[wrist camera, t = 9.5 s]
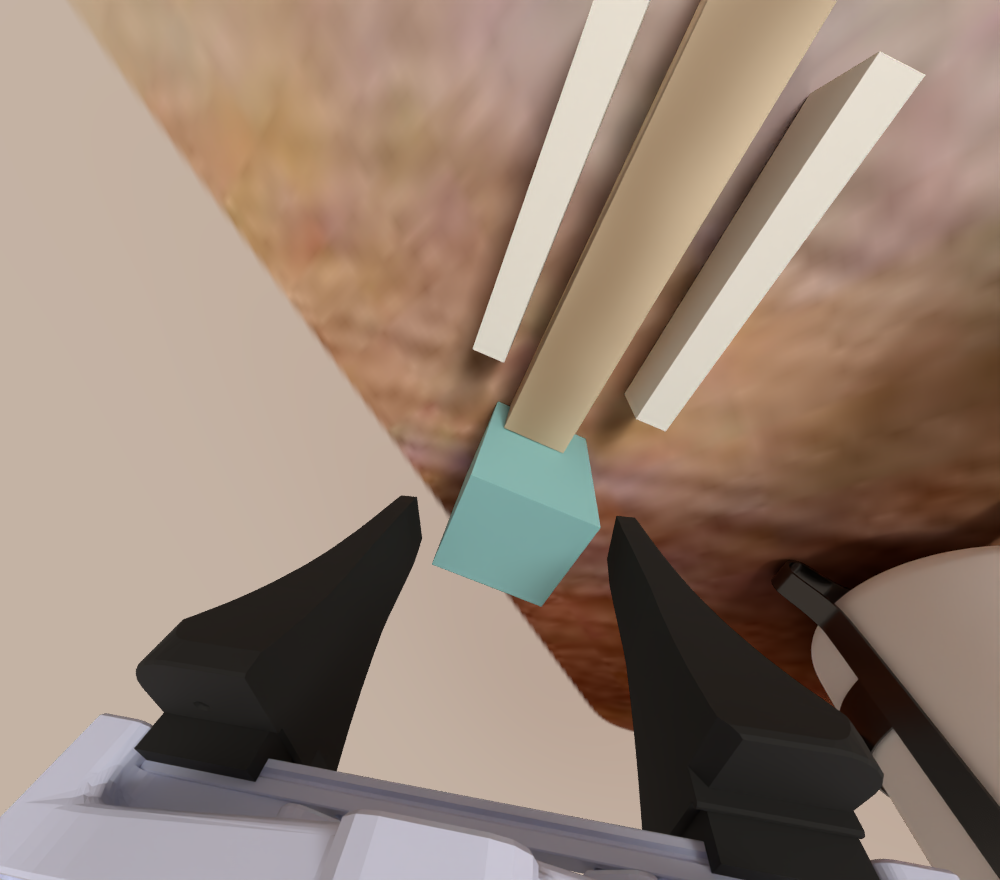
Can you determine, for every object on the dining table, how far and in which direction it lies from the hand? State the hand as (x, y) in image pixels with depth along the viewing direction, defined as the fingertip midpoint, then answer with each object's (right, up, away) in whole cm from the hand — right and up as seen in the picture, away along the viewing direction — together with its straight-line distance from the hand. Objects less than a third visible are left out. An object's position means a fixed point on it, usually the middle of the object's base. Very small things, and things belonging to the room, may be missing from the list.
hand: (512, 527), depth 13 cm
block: (+1, +2, +4) cm, 5 cm away
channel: (+4, +10, 0) cm, 11 cm away
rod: (+4, +10, 0) cm, 11 cm away
